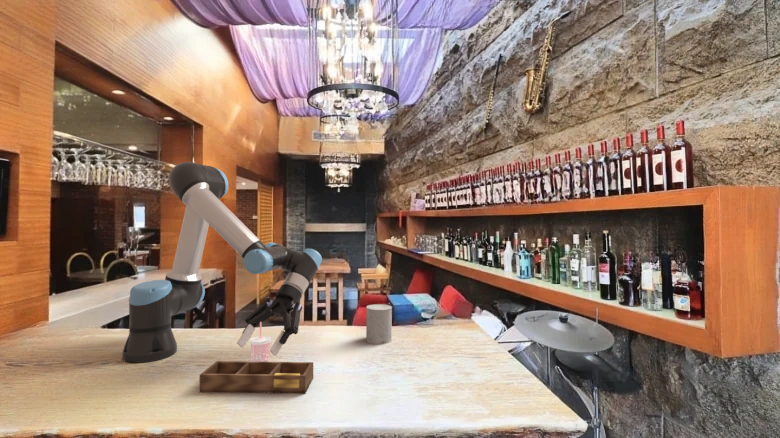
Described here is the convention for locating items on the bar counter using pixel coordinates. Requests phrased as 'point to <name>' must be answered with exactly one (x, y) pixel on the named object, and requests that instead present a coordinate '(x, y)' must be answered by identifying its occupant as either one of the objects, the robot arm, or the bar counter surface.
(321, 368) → the bar counter surface
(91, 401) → the bar counter surface
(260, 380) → the brown wooden compartment tray
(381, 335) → the gray concrete cylinder
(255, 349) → the beverage cup
